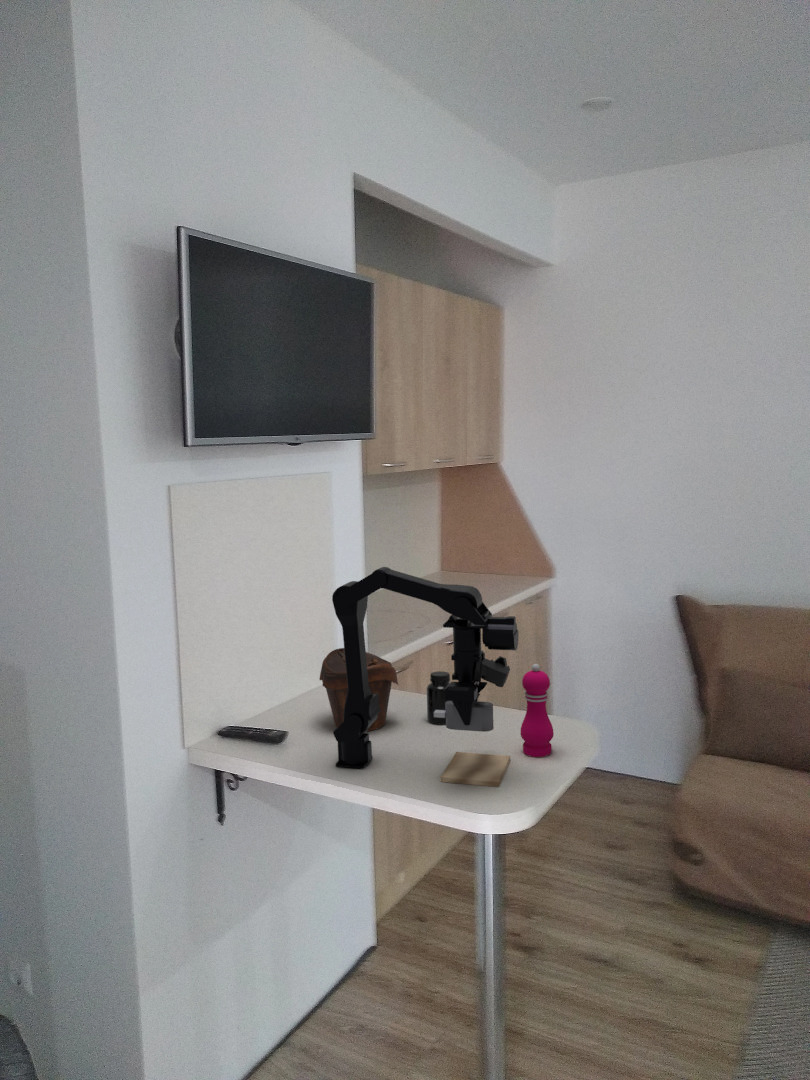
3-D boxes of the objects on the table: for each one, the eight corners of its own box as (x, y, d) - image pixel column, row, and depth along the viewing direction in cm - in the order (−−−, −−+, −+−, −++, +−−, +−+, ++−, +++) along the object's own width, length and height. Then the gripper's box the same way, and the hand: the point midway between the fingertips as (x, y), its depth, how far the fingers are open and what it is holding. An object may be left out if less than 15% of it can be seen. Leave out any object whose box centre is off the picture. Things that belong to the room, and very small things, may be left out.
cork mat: (440, 781, 167) (440, 777, 167) (456, 756, 180) (456, 751, 180) (498, 786, 163) (498, 782, 163) (510, 760, 177) (510, 755, 176)
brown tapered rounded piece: (389, 738, 192) (386, 664, 190) (310, 734, 197) (306, 661, 195) (409, 715, 209) (406, 646, 207) (335, 711, 214) (332, 644, 213)
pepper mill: (560, 751, 180) (559, 663, 178) (539, 760, 176) (537, 670, 173) (535, 743, 186) (533, 657, 184) (514, 752, 181) (512, 664, 179)
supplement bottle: (452, 725, 200) (451, 677, 198) (425, 724, 201) (423, 677, 200) (456, 716, 206) (455, 670, 205) (430, 715, 208) (428, 669, 206)
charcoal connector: (432, 728, 170) (432, 704, 170) (437, 721, 174) (436, 699, 173) (491, 732, 167) (491, 708, 166) (495, 725, 170) (494, 702, 170)
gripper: (498, 662, 157) (499, 740, 159) (513, 638, 174) (515, 709, 176) (441, 659, 160) (444, 736, 162) (462, 637, 178) (464, 706, 180)
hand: (469, 721), depth 170 cm, fingers closed on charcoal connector, 4 cm apart
